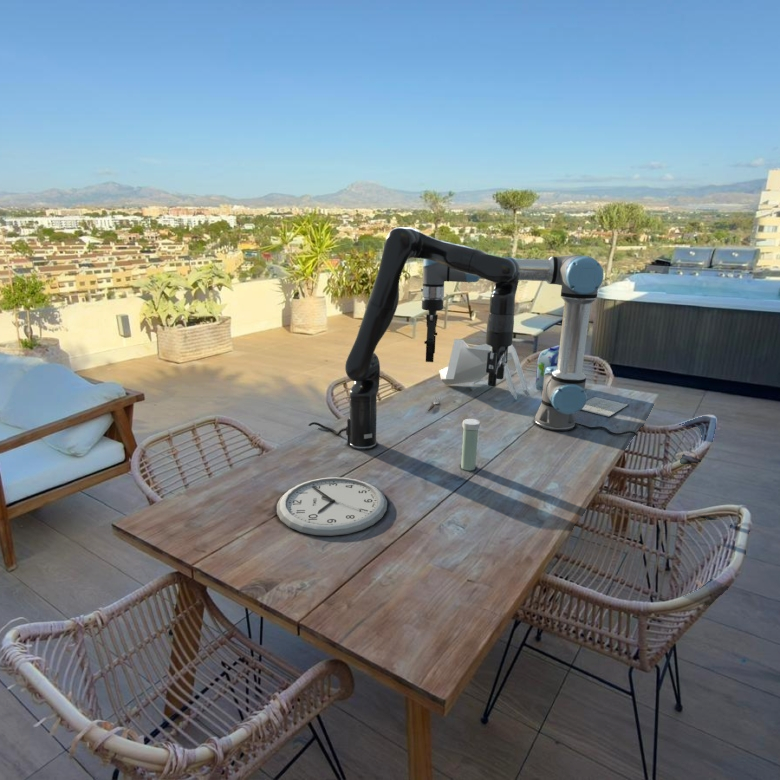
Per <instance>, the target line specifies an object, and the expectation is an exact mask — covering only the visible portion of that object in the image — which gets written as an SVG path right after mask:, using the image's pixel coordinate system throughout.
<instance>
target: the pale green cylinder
mask: <svg viewBox="0 0 780 780" xmlns="http://www.w3.org/2000/svg"><path fill="white" fill-rule="evenodd" d="M462 430H463V432H462V433H463V434H462V445H461V446H462V447H461V462H460V463H461V464H460V469H462V470H464V471H474V470H476V463H477V449H478V438H479V437H478V435H479V429H478V430H474V431H471V430H466V429H464V428H463V429H462Z"/></svg>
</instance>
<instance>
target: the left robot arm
mask: <svg viewBox="0 0 780 780" xmlns="http://www.w3.org/2000/svg"><path fill="white" fill-rule="evenodd" d="M384 241H385V242H384V245H383V250H382V254H381V259H380V264H379V267H378V272H377V274H376V276H375V280H374V283H373V285H372V289H371V292H370V294H369V297H368V300H367V303H366V306H365V309H364V313H363V316H362V319H361V322H360V326H359V329H358V332H357V335H356V338H355V341H354V343H353V345H352V347H351V350H350V351H349V354H348V356H347V358H346V360H345V364H344V365H345V366H344V369H345V373H346V376H347V377H348V379H349V380H350V381H353V384H352V386H351V388H350V390H349V418H347V419H346V421H347V422H346V424H347V425H346V427H344V428H341V429H340V430H339V431H336V429H334V428H331V427H328V426H326V425H324V424H321V423H319V422H316V421H312V422H310V423H309V424H308V426H309V427H311V426H312V425H316V426H318V427H320V428H323V429H325V430H327V431H330V432H332V433H334V435H336V436H339V435H341V434H342V433H343V432H345V436H347V439H346V440H347V446H350V447H351V448H353V449H355V450H370V449H373V448H375V447H377V415H378V414H377V405H378V403H377V402H378V401H377V399H378V391H379V389H380V377H381V376H380V375H381V364H380V360H379V359H380V358H379V357H378V355H377V354H376V353H375V351H376V348H377V346H378V344H379V342H380V341H381V340H382V339H383V337H384V335H385V334H386V332H387V331H388V329H389V327H390V326H391V324H392V322H393V320H394V317H395V314H396V312H397V309H398V305H399V299H400V282H401V281H400V280H401V277H402V273H403V271H404V268H405V265H406V263H407V261H408V260H411V259H422V260H424V259H428V260H432V261H435V262H438V263H441V264H443V265H445V266H447V267H449V268H452V269H455V270H458V271H461V272H464V273H468V274H472V275H477V276H479V277H482V278H484V279H483V280H486V281H490V282H491V283H494V285H493V290H492V293H491V294H490V298H489V305H488V315H487V320H486V324H487V325H486V334H485V344H487V345H490V347H491V348H492V351H490V352H488V357H487V368H486V373H489V374H488V378H487V385H488V387H491V388H492V387H497V380H504V376H505V373H504V367H505V366H506V364H507V365H508V361H507V356H508V346H511V345H513V339H514V338H513V337H514V327H515V307H516V305H515V304H516V294H517V290H518V286H519V281H520V280H519V275H520V267H519V264H518V262H517V261H516V260H515V259H516V258H514V257H511V256H504V257H501V256H497V255H493V254H489V253H486V252H485V251H483V250H480V249H477V248H473V247H469V246H465V245H461V244H455V243H452V242H447V241H444V240H439V239H437V238H434V237H433V236H432V237H431V236H429V235H427V234H424V233H423V232H420V231H419V230H416V229H415V228H412V227H407V226H406V227H404V226H403V227H401V226H400V227H395V228H393V229H391V230H390V232H389V233H388V234H387V236H386V238H385V240H384ZM492 367H493V369H491V368H492Z"/></svg>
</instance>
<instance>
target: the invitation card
mask: <svg viewBox="0 0 780 780" xmlns="http://www.w3.org/2000/svg"><path fill="white" fill-rule="evenodd" d="M628 406H629V404H627V403H623V402H618V401H614V400H609V399H605V398H601V397H596V396H593V397H592V398H590V399H587V401H586V404H585V406H584V407H583V408H582V409H581V410H580V411H584V412H587V413H593V414H596V415H600V416H604V417H608V418H609V417H611V416H613V415H614V414H616V413H617V412H619V411H621V410H623V409H624V408H626V407H628Z"/></svg>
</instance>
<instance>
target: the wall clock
mask: <svg viewBox="0 0 780 780" xmlns="http://www.w3.org/2000/svg"><path fill="white" fill-rule="evenodd" d="M387 509H388V500H387V498H386V496H385V494H384V493H383V492H382V491H381V490H380V489H379V488H377V487H376V486H374V485H372V484H371V483H369V482H365V481H362V480H359V479H355V478H349V477H338V476H337V477H335V476H333V477H332V476H331V477H322V478H317V479H312V480H307V481H305V482H302V483H299V484H297V485H295V486H293V487H292V488H290V489H288V490H287V491H286V492H285V493H284V494H283V495H281V496H280V498H279V499H278V502H277V503H276V515H277V517H278V518H279V520H280V521H281V522H282V523H283V524H285V525H286V526H287V527H288V528H290V529H293V530H295V531H297V532H299V533H303V534H308V535H312V536H327V537H328V536H329V537H331V536H332V537H333V536H342V535H350V534H352V533H356V532H361V531H363V530H366V529H368V528H369V527H372V526H373V525H375V524H376V523H378V522H379V521H380V520H381V519H382V518H383V517H384V516H385V514H386V512H387Z"/></svg>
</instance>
